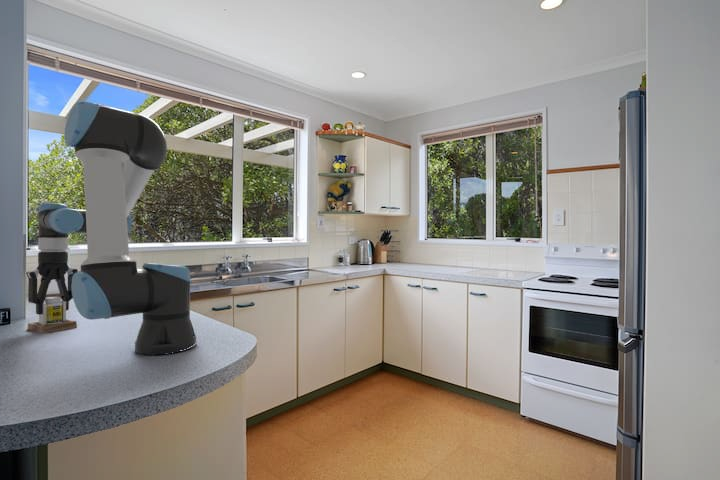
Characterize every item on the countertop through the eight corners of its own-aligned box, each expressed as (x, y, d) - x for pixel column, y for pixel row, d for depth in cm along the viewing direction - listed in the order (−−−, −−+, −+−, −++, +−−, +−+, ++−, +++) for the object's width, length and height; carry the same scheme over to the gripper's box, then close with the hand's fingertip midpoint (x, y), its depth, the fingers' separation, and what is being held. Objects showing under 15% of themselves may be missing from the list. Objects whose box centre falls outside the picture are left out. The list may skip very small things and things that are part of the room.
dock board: (76, 327, 125) (76, 321, 125) (44, 333, 117) (44, 326, 117) (59, 323, 129) (59, 318, 129) (27, 329, 121) (27, 323, 121)
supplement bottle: (53, 325, 121) (54, 298, 121) (39, 324, 121) (39, 298, 121) (65, 321, 126) (65, 296, 125) (51, 321, 126) (51, 296, 125)
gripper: (76, 250, 133) (76, 316, 133) (12, 251, 116) (12, 326, 117) (89, 250, 129) (89, 318, 130) (25, 252, 113) (25, 329, 113)
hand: (52, 322), depth 123 cm, fingers closed on supplement bottle, 5 cm apart
